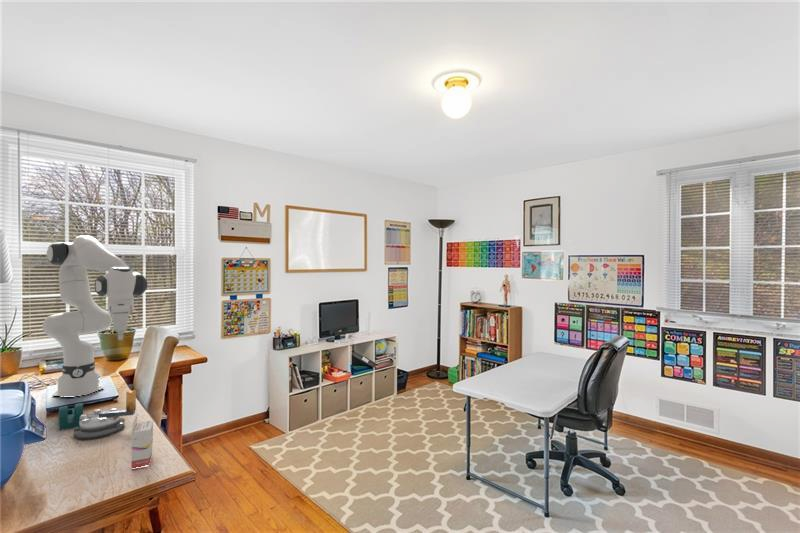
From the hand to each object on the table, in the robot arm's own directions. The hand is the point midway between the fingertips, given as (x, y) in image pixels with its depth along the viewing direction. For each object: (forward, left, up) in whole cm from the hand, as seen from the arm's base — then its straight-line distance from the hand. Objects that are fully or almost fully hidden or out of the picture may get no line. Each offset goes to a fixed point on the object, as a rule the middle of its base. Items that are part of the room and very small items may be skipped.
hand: (120, 339), depth 159 cm
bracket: (-3, -16, -32) cm, 35 cm away
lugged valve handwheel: (+16, -3, -29) cm, 33 cm away
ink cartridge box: (+50, +6, -31) cm, 59 cm away
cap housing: (+15, -6, -31) cm, 35 cm away
